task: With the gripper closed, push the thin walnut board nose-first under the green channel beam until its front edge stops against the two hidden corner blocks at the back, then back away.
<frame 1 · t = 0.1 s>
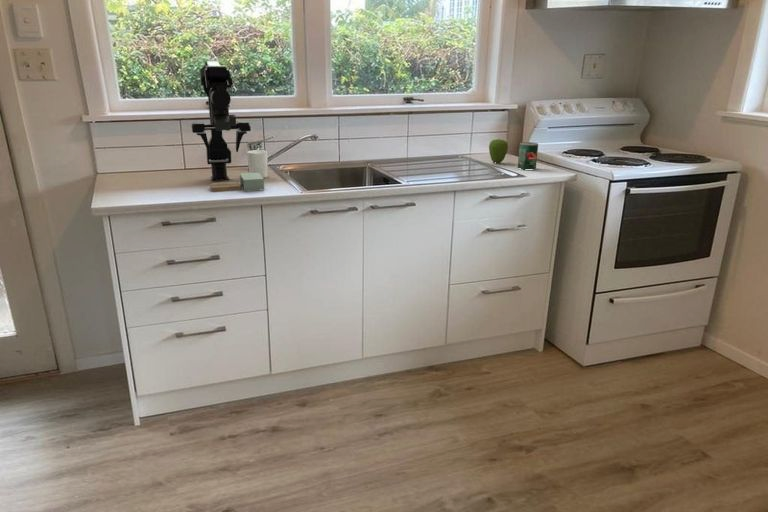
hand: (223, 152, 199), 15 cm above the worktop, tool pointing down, fingers open, 9 cm apart
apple: (497, 163, 268), on the worktop
board: (225, 189, 213), on the worktop
canned tomato: (526, 169, 257), on the worktop
white cup: (258, 177, 233), on the worktop
green channel beam: (252, 186, 216), on the worktop
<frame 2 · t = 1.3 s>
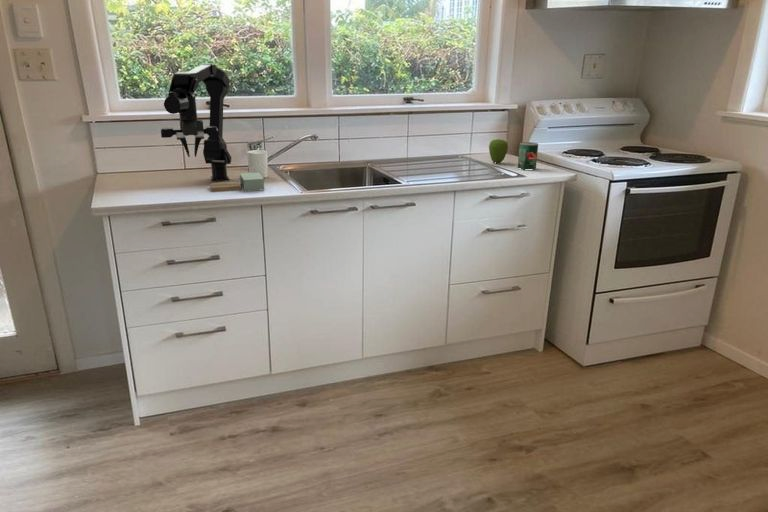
hand: (192, 156, 205), 12 cm above the worktop, tool pointing down, fingers closed
nothing on the worktop moved.
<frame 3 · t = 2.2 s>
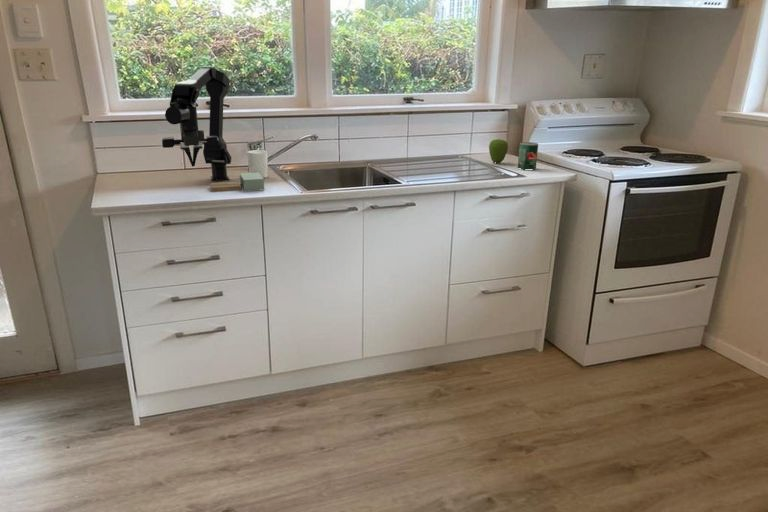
hand: (193, 166, 206), 9 cm above the worktop, tool pointing down, fingers closed
nothing on the worktop moved.
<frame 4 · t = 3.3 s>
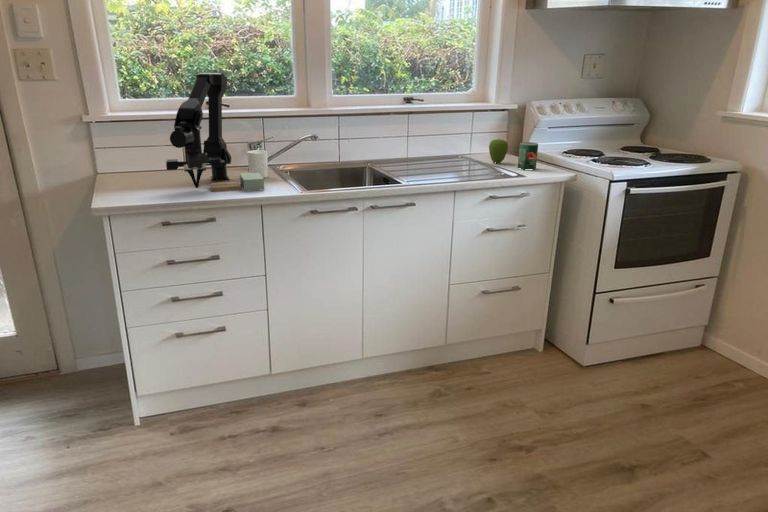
hand: (196, 187, 209), 1 cm above the worktop, tool pointing down, fingers closed
nothing on the worktop moved.
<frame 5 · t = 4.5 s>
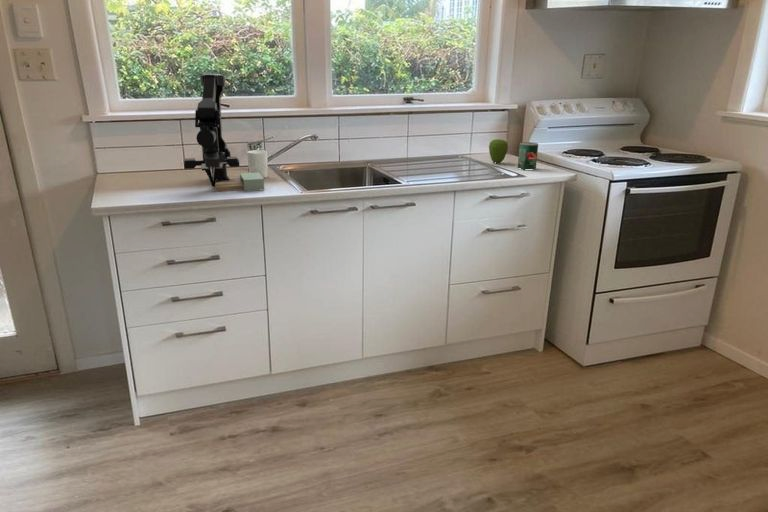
hand: (213, 186, 211), 1 cm above the worktop, tool pointing down, fingers closed
board: (229, 189, 213), on the worktop, touching gripper
everything else where it was.
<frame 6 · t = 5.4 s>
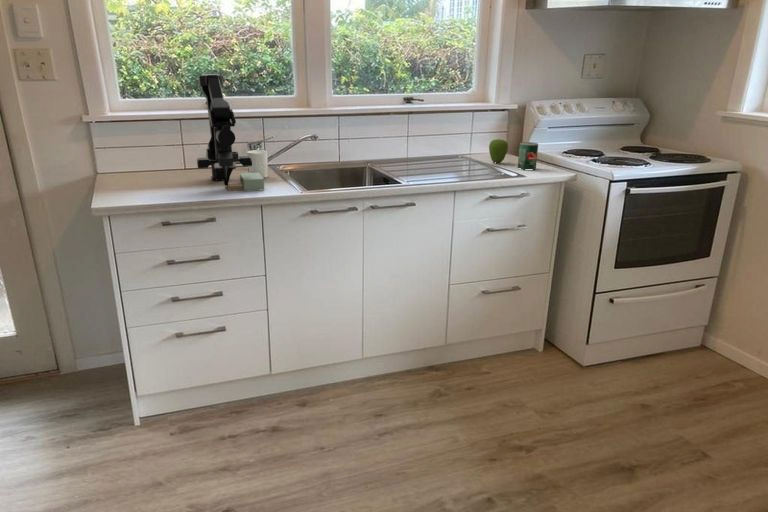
hand: (226, 185, 212), 1 cm above the worktop, tool pointing down, fingers closed
board: (242, 189, 215), on the worktop, touching gripper
everything else where it was.
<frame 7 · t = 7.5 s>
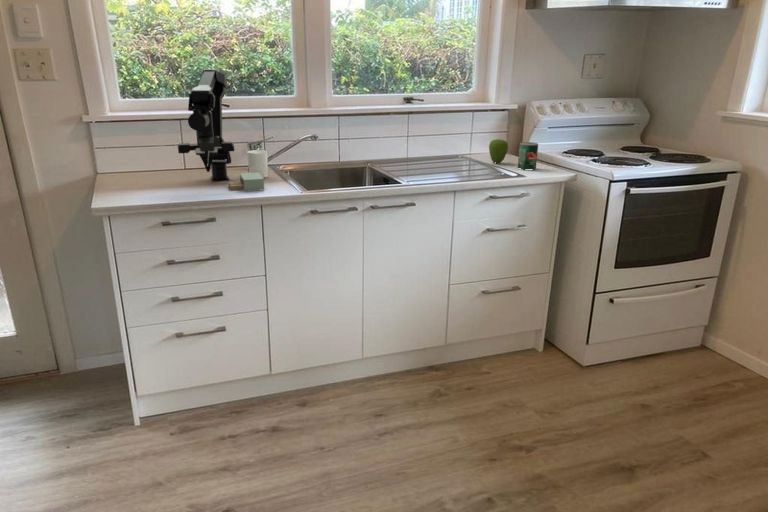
hand: (208, 171, 208), 7 cm above the worktop, tool pointing down, fingers closed
board: (243, 188, 215), on the worktop
everything else where it was.
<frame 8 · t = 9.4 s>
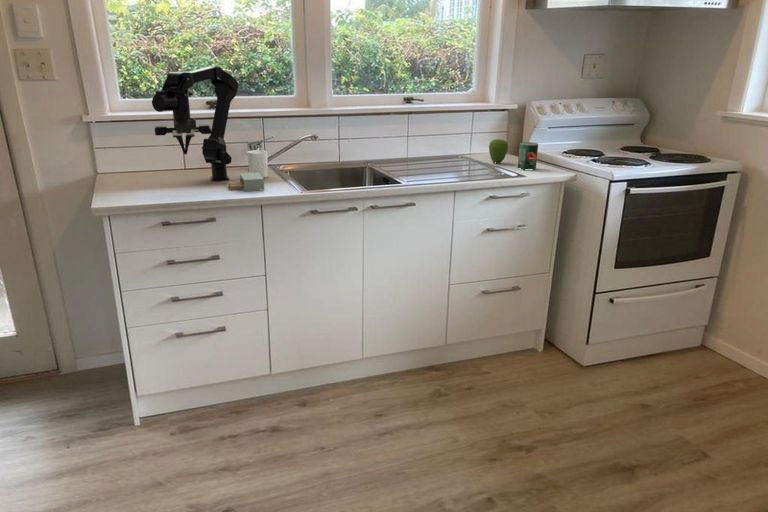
hand: (185, 154, 210), 12 cm above the worktop, tool pointing down, fingers closed
nothing on the worktop moved.
at the end: board 0.3 cm from the target spot on the green channel beam, point -0.5 cm above the green channel beam's base; board moved 6.5 cm from its start; board tilted 0° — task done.
